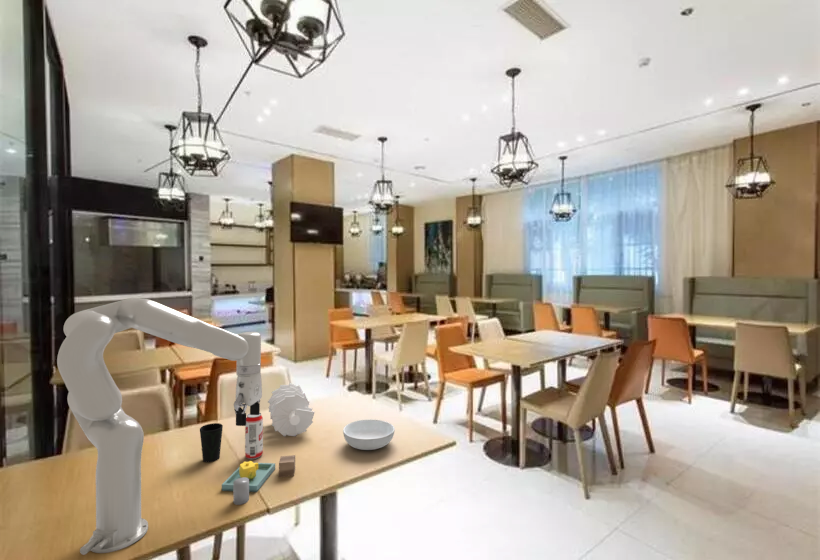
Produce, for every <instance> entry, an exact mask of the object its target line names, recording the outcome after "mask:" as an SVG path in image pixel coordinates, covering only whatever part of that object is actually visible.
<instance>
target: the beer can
mask: <svg viewBox="0 0 820 560" xmlns="http://www.w3.org/2000/svg"><path fill="white" fill-rule="evenodd" d="M263 422H264V418H263V415H262V413H261V412H260V414H259V415H250V413H247V414H246V425H245V426H244V431H245V433H244V434H245V435H244V439H245V441H244V444H245V445H244V447H245V449H244V452H245V453H244V457H245V458H246V459H248V460H256V459H259V458H260V457H262V455H263V453H264V423H263Z"/></svg>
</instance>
